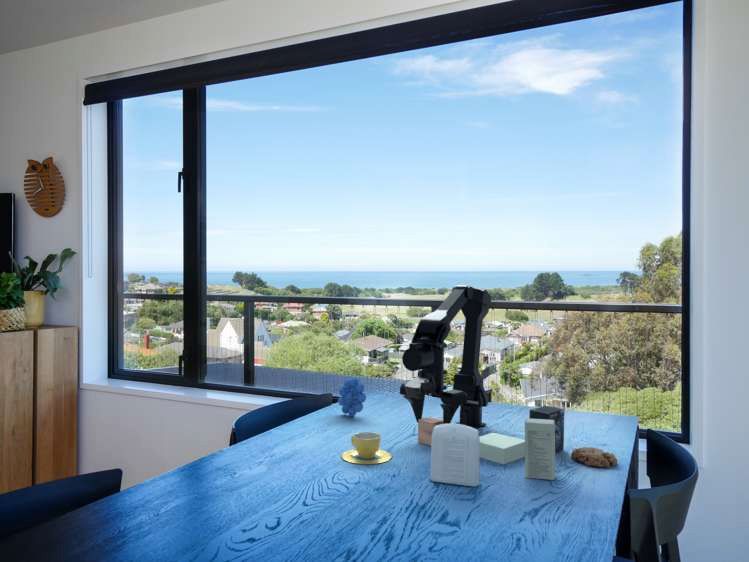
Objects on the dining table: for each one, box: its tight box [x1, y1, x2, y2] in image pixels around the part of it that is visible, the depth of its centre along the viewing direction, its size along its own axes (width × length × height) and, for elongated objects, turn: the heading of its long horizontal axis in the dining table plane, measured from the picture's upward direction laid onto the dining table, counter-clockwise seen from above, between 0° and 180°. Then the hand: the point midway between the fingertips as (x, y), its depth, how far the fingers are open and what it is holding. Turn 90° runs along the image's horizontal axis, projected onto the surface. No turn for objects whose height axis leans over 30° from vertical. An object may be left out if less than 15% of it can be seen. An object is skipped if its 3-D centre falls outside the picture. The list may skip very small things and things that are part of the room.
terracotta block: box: [417, 416, 443, 447], centre depth 157 cm, size 5×5×6 cm
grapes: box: [337, 377, 367, 417], centre depth 185 cm, size 12×7×12 cm, turn 45°
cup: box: [341, 431, 393, 465], centre depth 144 cm, size 12×12×5 cm
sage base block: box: [479, 432, 525, 465], centre depth 147 cm, size 10×10×4 cm
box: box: [528, 405, 566, 454], centre depth 151 cm, size 8×6×11 cm
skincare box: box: [524, 417, 556, 481], centre depth 132 cm, size 6×4×12 cm
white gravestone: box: [430, 422, 480, 488], centre depth 127 cm, size 10×4×12 cm, turn 72°
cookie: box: [570, 446, 618, 469], centre depth 143 cm, size 10×11×3 cm
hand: (431, 425), depth 157 cm, fingers open, 9 cm apart
